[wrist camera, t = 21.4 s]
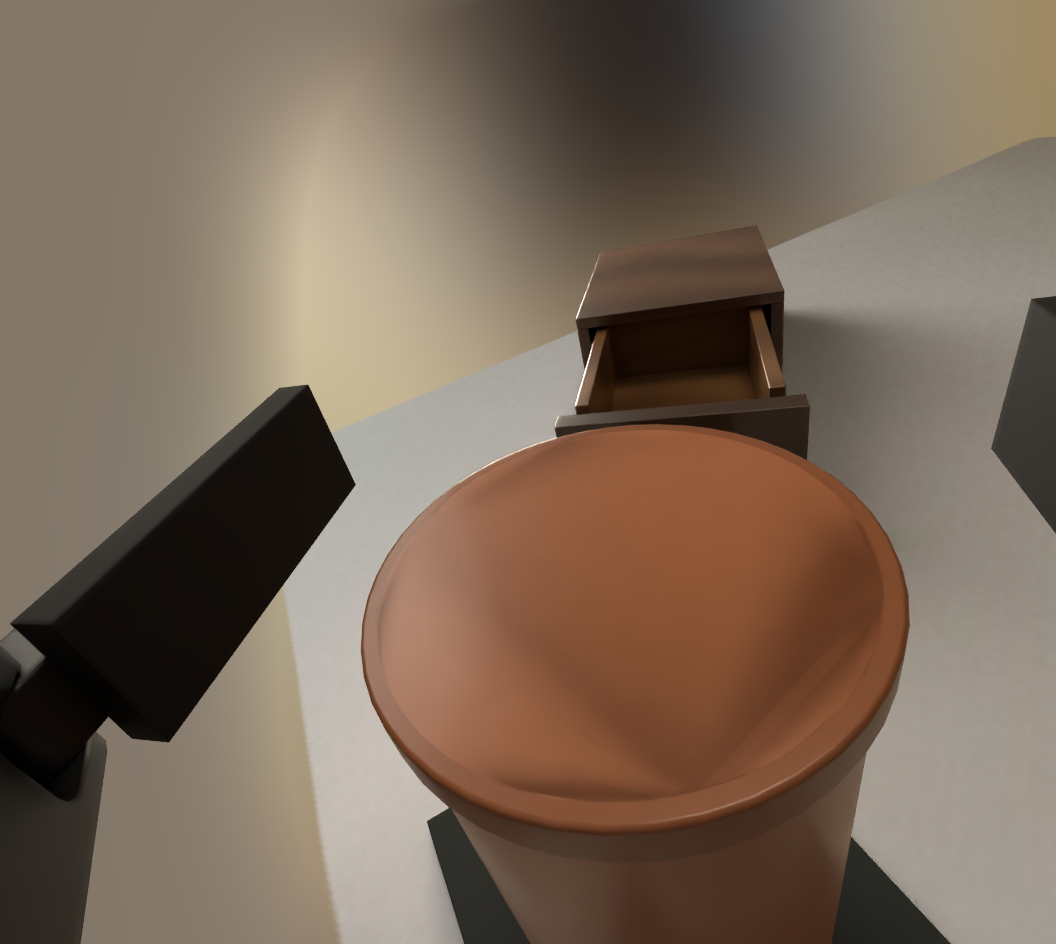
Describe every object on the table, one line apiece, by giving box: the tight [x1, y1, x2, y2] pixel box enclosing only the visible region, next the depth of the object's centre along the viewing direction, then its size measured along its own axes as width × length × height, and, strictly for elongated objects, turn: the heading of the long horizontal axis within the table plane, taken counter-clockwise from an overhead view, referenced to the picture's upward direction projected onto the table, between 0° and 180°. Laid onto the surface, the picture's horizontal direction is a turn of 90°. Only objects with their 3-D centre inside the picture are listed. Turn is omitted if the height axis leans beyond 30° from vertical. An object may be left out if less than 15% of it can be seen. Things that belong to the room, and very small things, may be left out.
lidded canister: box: [361, 424, 910, 944], centre depth 13 cm, size 8×8×15 cm
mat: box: [427, 808, 950, 944], centre depth 17 cm, size 14×12×1 cm
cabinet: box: [576, 226, 784, 372], centre depth 47 cm, size 17×14×8 cm
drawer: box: [555, 305, 810, 460], centre depth 35 cm, size 20×12×6 cm, turn 168°
